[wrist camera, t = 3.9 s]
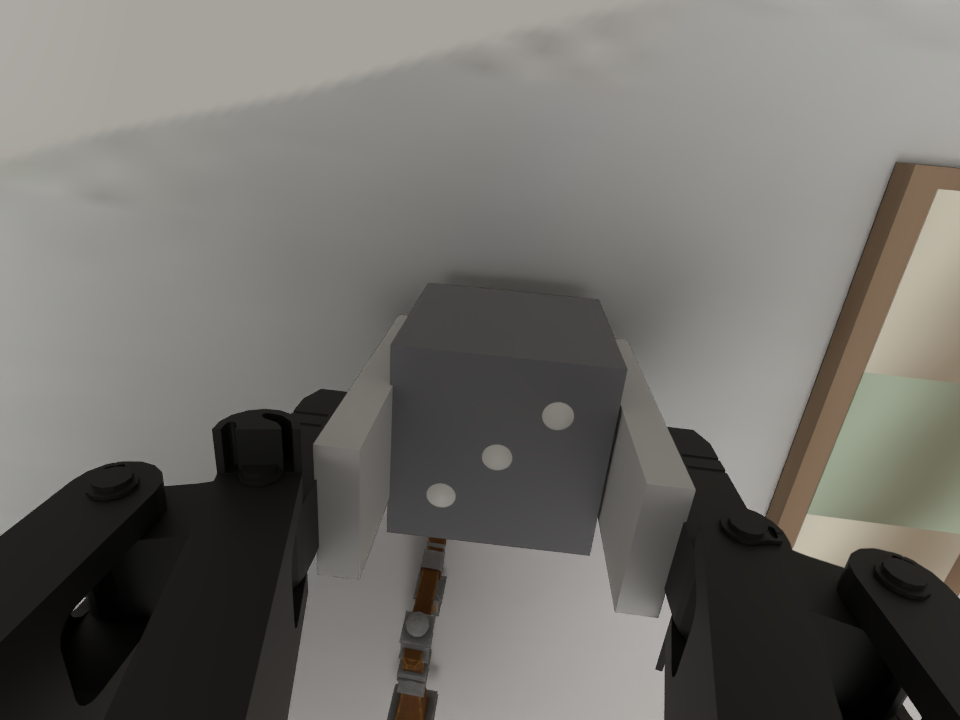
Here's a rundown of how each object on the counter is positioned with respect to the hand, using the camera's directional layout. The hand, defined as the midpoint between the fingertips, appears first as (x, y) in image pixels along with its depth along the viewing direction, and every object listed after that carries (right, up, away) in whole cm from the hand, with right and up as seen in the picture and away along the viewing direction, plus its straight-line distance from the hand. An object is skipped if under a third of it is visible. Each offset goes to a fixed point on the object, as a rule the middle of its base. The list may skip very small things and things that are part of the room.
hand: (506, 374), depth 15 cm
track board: (+12, -7, +4) cm, 14 cm away
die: (0, 0, 0) cm, 0 cm away
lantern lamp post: (-3, -13, +8) cm, 16 cm away
